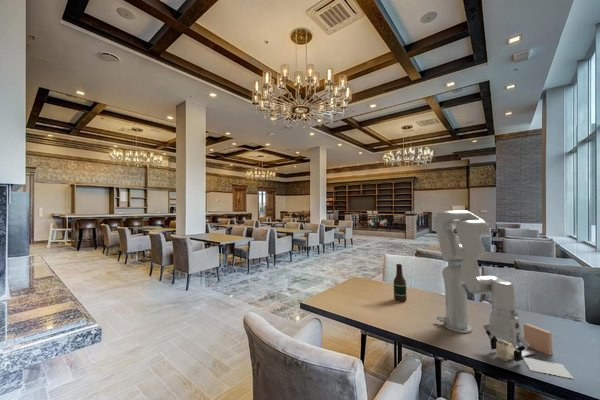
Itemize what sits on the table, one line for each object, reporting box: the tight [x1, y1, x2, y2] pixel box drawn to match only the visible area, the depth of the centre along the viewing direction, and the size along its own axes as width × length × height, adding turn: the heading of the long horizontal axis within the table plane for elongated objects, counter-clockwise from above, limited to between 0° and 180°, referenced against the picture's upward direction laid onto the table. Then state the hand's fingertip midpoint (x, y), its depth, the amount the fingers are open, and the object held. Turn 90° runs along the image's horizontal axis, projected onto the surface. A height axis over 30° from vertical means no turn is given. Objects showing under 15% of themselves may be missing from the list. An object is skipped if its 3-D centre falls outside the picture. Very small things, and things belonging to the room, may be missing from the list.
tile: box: [523, 323, 554, 356], centre depth 110 cm, size 2×9×9 cm, turn 18°
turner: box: [496, 339, 536, 362], centre depth 106 cm, size 16×6×6 cm, turn 108°
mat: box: [522, 356, 575, 380], centre depth 97 cm, size 12×9×1 cm
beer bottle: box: [393, 263, 408, 303], centre depth 170 cm, size 8×8×24 cm
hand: (505, 354), depth 104 cm, fingers open, 8 cm apart
